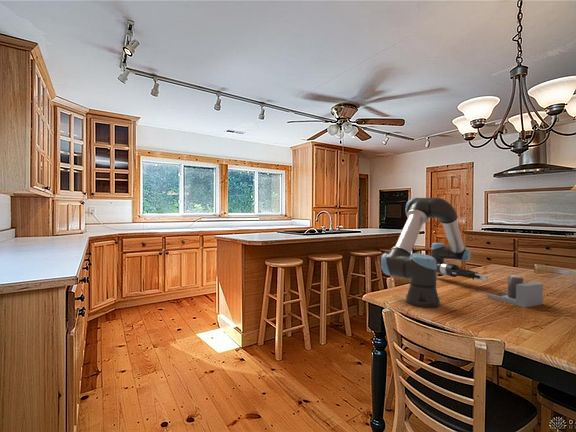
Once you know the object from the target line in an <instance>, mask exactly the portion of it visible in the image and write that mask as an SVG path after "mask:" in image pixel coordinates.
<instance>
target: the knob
mask: <svg viewBox="0 0 576 432" xmlns="http://www.w3.org/2000/svg"><path fill="white" fill-rule="evenodd" d="M522 283H524V277H522V275H518V274H510V276H508V277H507V292H508V295H501V297H504V298H508V299H511V300H515V301H516V284H522Z"/></svg>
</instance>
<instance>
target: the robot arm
mask: <svg viewBox="0 0 576 432" xmlns="http://www.w3.org/2000/svg"><path fill="white" fill-rule="evenodd" d="M404 212H405V215H406V217H407V219H406V222H405V223H404V226H403V227H402V230H401V232H400V234H399V236H398V239H397V241H396V244H395V245H394V246H393V247H391V248H390V250H389V251H388V252H384V253H383V254H382V255H381V258H380V267H381V270H382V272H383V274H385V275H387V276H390V277H396V278H402V279H408V280H409V287H408V290H407V293H406V295H405V302H406V303H408V304H409V305H412V306H415V307H420V308H439V307H440V305H441V299H440V297H439V295H438V293H439V292H438V290H437V274H440V275H441V274H442V275H445V277H447V276H449V277H452V278H456V277H463V278H467V279H471V280H475V279H476V280H480V281H484V282H488V281H489V276H488V275H486V274H482V273H481V274H480V273H479V272H478V271H473V270H470V269H469V268H467V269H464V268H462V267H461V268H460V267H459V266H458V265H457V264H453V263H450V262H445V259H447V260H449V259H450V260H455V261H456V260H457V261H463V262H464V261H467V262H469V260H470V259H471V254H472V253H471V252H472V251H471V249H469V248H466V247H465V245H464V241H463V238H462V234H461V231H460V227H459V224H458V221H457V220H458V218H459V217H458V213H457V210H456V209H455V207H454V206H453V205H452V204H451V203H450V202H449V201H447V200H446V199H443V197H442V198H441V197H413V198H410V199H408V200H407V202H406V204H405V209H404ZM429 219H438V221H439V223H441V224H442V227H443V230H444V233H445V236H446V240H447V241H448V245H449V246H445V243H443V242H433V243H431V249H430V250H431V253H430V254H431V255H428V254H424V253H417V252H413V253H412V250H413V249H414V246H415V244H416V241H417V239H418V236H419V234H420V232H421V229H422V227H423V225H424V224H427V222H428V220H429Z"/></svg>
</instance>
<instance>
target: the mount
mask: <svg viewBox="0 0 576 432" xmlns="http://www.w3.org/2000/svg"><path fill="white" fill-rule="evenodd" d="M505 295H508V291H501V296H500V295H498V294H492V293H490V292H489V293H487V294H486V297H488V298H492V299H494V300H497V301H501V302H505V303H508V304H512V305H515V306H518V307H522V308H530V307H535V306H541V305H543V302H544V301H543V299H544V298H543V297H544V283H540V282H535V281H530V282H523V283H522V284H516V301H515V300H511V299H508V298H504V297H502V296H505Z"/></svg>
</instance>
